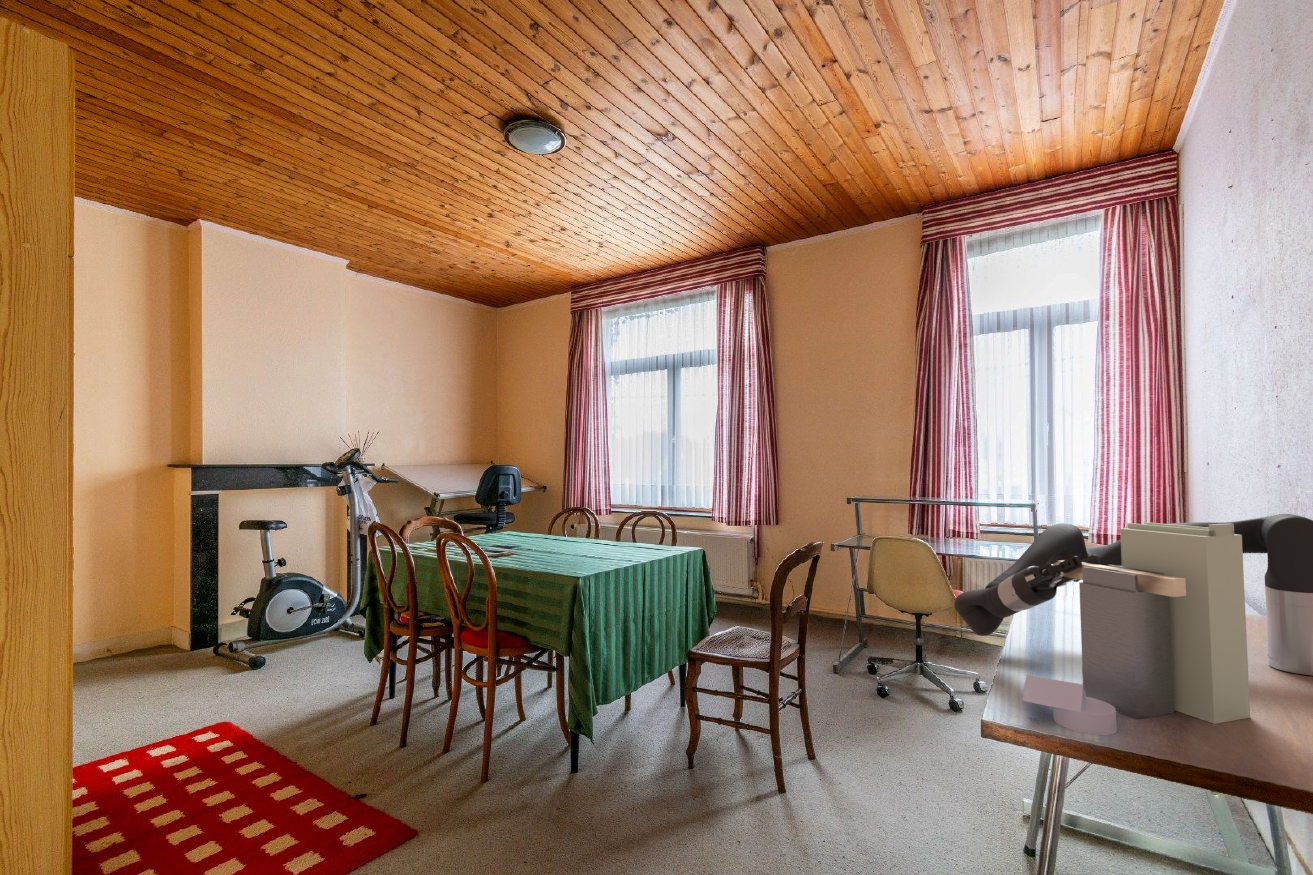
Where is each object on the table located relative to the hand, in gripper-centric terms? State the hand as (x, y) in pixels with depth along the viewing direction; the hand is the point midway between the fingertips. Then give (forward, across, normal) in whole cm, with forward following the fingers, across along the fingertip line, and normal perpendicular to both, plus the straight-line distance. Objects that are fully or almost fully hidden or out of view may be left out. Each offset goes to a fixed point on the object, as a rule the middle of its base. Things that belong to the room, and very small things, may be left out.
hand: (1088, 559), depth 124 cm
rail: (+3, 0, -6) cm, 7 cm away
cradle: (-7, 0, -26) cm, 27 cm away
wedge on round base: (-6, +16, -27) cm, 32 cm away
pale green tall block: (-5, -10, -27) cm, 30 cm away
